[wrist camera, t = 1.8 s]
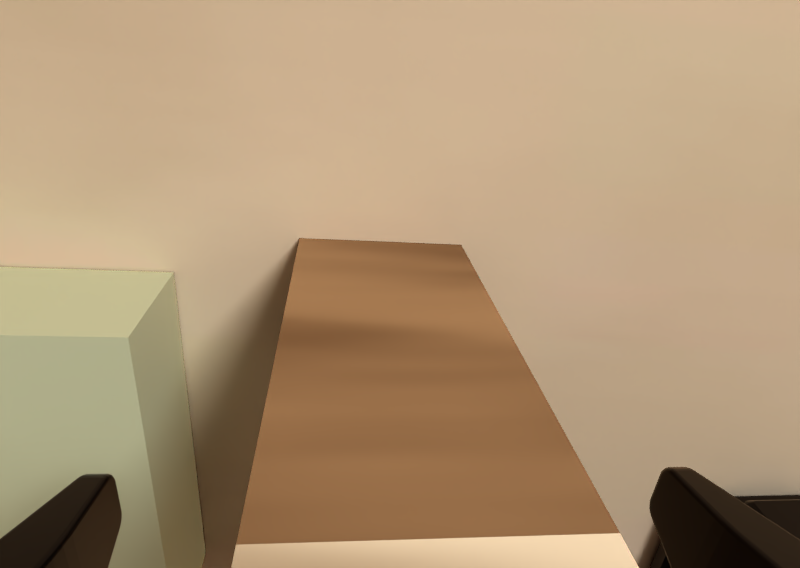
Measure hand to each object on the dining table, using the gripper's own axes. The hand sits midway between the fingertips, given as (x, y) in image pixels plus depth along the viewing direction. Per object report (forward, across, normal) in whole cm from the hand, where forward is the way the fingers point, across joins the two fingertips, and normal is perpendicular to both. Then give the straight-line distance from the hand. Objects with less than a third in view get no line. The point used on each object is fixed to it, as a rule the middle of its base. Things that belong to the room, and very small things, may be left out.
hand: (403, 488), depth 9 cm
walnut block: (+6, 0, 0) cm, 6 cm away
